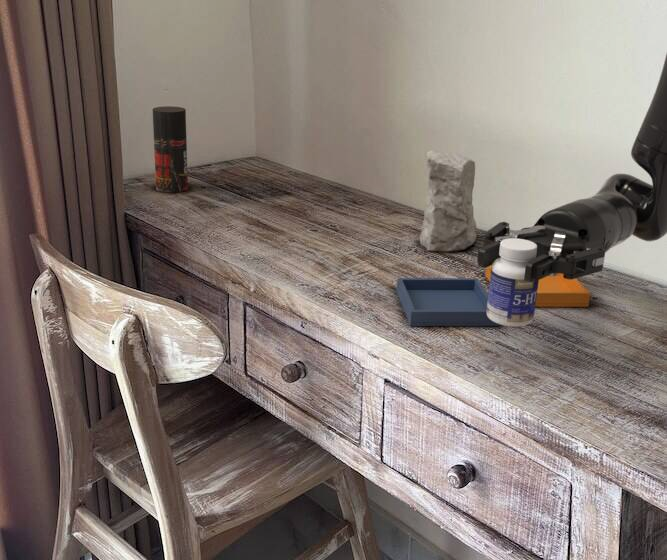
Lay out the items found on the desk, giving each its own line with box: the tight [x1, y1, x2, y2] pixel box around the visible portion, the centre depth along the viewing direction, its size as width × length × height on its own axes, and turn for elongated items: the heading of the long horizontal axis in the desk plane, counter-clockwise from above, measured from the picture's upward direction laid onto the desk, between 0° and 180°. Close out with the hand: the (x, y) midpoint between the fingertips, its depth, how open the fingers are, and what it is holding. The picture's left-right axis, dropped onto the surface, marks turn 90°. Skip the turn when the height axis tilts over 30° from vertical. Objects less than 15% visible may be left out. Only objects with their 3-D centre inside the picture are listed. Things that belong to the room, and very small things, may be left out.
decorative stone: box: [419, 149, 477, 253], centre depth 128 cm, size 10×9×15 cm
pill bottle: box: [487, 238, 539, 327], centre depth 90 cm, size 5×5×9 cm
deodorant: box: [152, 105, 189, 194], centre depth 152 cm, size 6×6×15 cm
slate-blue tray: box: [396, 277, 499, 327], centre depth 106 cm, size 11×11×2 cm
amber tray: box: [484, 265, 591, 308], centre depth 113 cm, size 11×11×2 cm
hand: (504, 265), depth 88 cm, fingers closed on pill bottle, 5 cm apart
